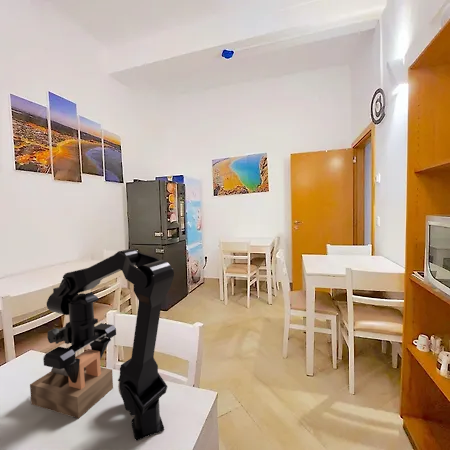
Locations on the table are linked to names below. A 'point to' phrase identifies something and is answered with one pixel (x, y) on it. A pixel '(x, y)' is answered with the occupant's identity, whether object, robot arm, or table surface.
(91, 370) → the staple
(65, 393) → the wooden divided tray
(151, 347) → the robot arm
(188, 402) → the table surface
